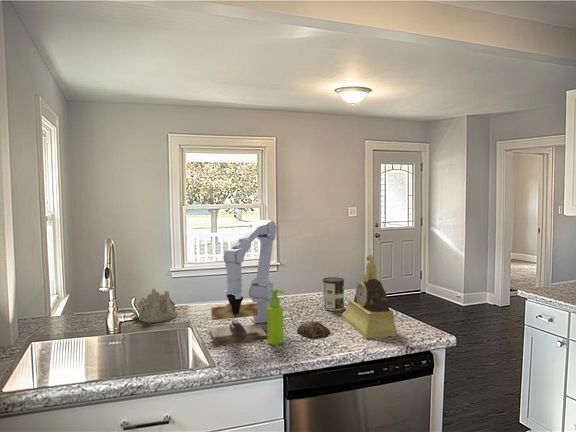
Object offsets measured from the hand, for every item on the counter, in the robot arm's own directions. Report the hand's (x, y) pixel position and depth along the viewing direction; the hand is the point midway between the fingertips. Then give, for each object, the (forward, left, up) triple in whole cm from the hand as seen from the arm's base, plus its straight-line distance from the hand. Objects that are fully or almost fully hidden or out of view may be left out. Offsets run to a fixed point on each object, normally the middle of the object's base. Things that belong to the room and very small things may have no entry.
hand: (234, 313), depth 171 cm
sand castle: (+29, -37, -9) cm, 47 cm away
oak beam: (0, 0, -2) cm, 2 cm away
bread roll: (-30, +10, -9) cm, 33 cm away
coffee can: (-53, -21, -9) cm, 57 cm away
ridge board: (-1, +2, -8) cm, 9 cm away
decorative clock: (-54, +10, -9) cm, 55 cm away
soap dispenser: (-13, +15, -9) cm, 21 cm away
